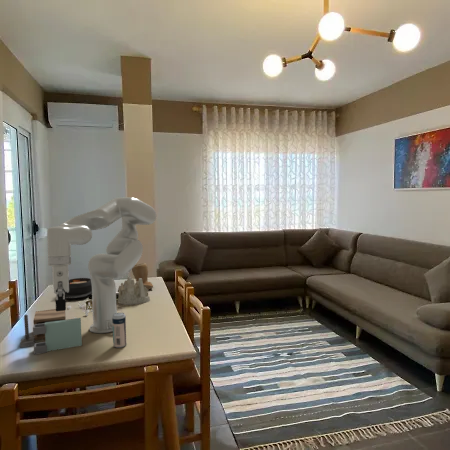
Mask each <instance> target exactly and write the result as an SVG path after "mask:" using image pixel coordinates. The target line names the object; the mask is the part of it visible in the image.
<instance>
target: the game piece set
mask: <svg viewBox="0 0 450 450" xmlns="http://www.w3.org/2000/svg"><path fill="white" fill-rule="evenodd" d="M87 304H88V306H87V308H89V306H90V308H92V306H91V303H90V302H88V303H87ZM78 308H81V309H82V308H84V303H82V304H81V303H80V302H79V301H78ZM66 309H68V310H71V309H72V305H70V304H69V305H67V306H66ZM91 312H92V313H93V308H92V309H86V310H85V311H84V315H85V316H87V317H88V315H89V313H91ZM75 318H76V317H74V316H72V319H75Z"/></svg>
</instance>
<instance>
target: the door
mask: <svg viewBox="0 0 450 450" xmlns="http://www.w3.org/2000/svg"><path fill="white" fill-rule="evenodd" d="M74 318H75V319H74ZM74 318H70V319H69V318H67V319H66V320H60V321H53V322H46V323H42V324H35V325H34V324H33V326H32V335H33V336H34V335H38V334H45V339H44V340H45V341H43V342H36V343H35V342H34V347H33V353H34V355H39V354H46V353H47V352H51V350H52V351H56V350H57V349H58V350H62V349H69V348H74V347H81V346H82V345H83V343H82V341H83V340H82V339H83V338H82V337H83V336H82V317H74Z"/></svg>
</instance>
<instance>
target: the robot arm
mask: <svg viewBox="0 0 450 450" xmlns="http://www.w3.org/2000/svg"><path fill="white" fill-rule="evenodd" d="M120 219H121V229H120V231H119V232H118V233H117V234H116V235H115V236H114V238H112V239H111V241H110V242H109V243H108V244H107V246H106V249H105V252H106V253H97V254H94V255H93V256H91V258H89V261H88V266H87V267H88V272H89V273H88V274H89V276H90V279H91V283H92V294H91V301H92V310H93V312H92V321H93V322H92V324H91V325H89V332H91V333H94V334H107V333H113V322H112V317H113V315H114V314H115V313H118V312H117V286H116V281H115V279H122V278H125V277H126V276H128V274H129V273H130V272H132V268H133V267H134V266H135V265H136V264H137V263H138V262H139V261H140V259H141V258H142V256H143V252H144V247H143V243H142V241H140V240H139V232H138V230H137V229H138V228H137V225H138V226H139V225H145V226H148V225H152V224H153V223H155V221H156V220H157V212H156V210H155V208H154V207H153V206H151V205H149V203H146V202H144V201H142V200H141V199H138V198H135V197H129V196H127V197H123V196H122V197H115V198H114V197H113V199H110V200H109V201H108V202H105V203H104V204H102V205H100V206H99V207H97V208H95V209H94V210H90V211H87V212H85V213H83V214H79V215H76V216H74V217H72V218H71V217H70V218H69V219H68V220H66V221H64V222H62V223H60V224H59V225H57V226H49V227H48V228H47V234H46V235H47V236H46V237H47V264H48V265H47V266H48V267H51V268H52V269H51V271H52V272H51V274H52V286H53V293H54V294H55V298H56V299H55V309H56V311H65V312H66V309H67V298H66V293H65V292H67V293H68V292H69V280H70V278H69V277H70V276H69V275H70V274H69V265H71V264H72V255H71V254H72V253H71V252H72V249H71V247H72V245H74V246H76V245H77V246H78V245H79V246H82V245H86V244H88V243H89V242H90V241H91V240H92V238H93V231H97V230H102V229H106V228H107V227H109V226H110V225H112V224H113V223H115V222H117V221H118V220H120Z"/></svg>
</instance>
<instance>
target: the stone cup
mask: <svg viewBox="0 0 450 450" xmlns="http://www.w3.org/2000/svg"><path fill="white" fill-rule="evenodd" d="M131 273H132V274H133V277H134V279H135V282H136V281H139V278H142V281H143V285H144V286H145V287H146V288H147V289H148V290H151V289H153V288H154V285H153V283H152V282H151V281H149V279H148V278H149V277H148V275H149V268H148V264H147V263H146V262H143V263H138V264H137V263H136V264H135V266H134V267H133V268H132V269H131Z"/></svg>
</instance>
